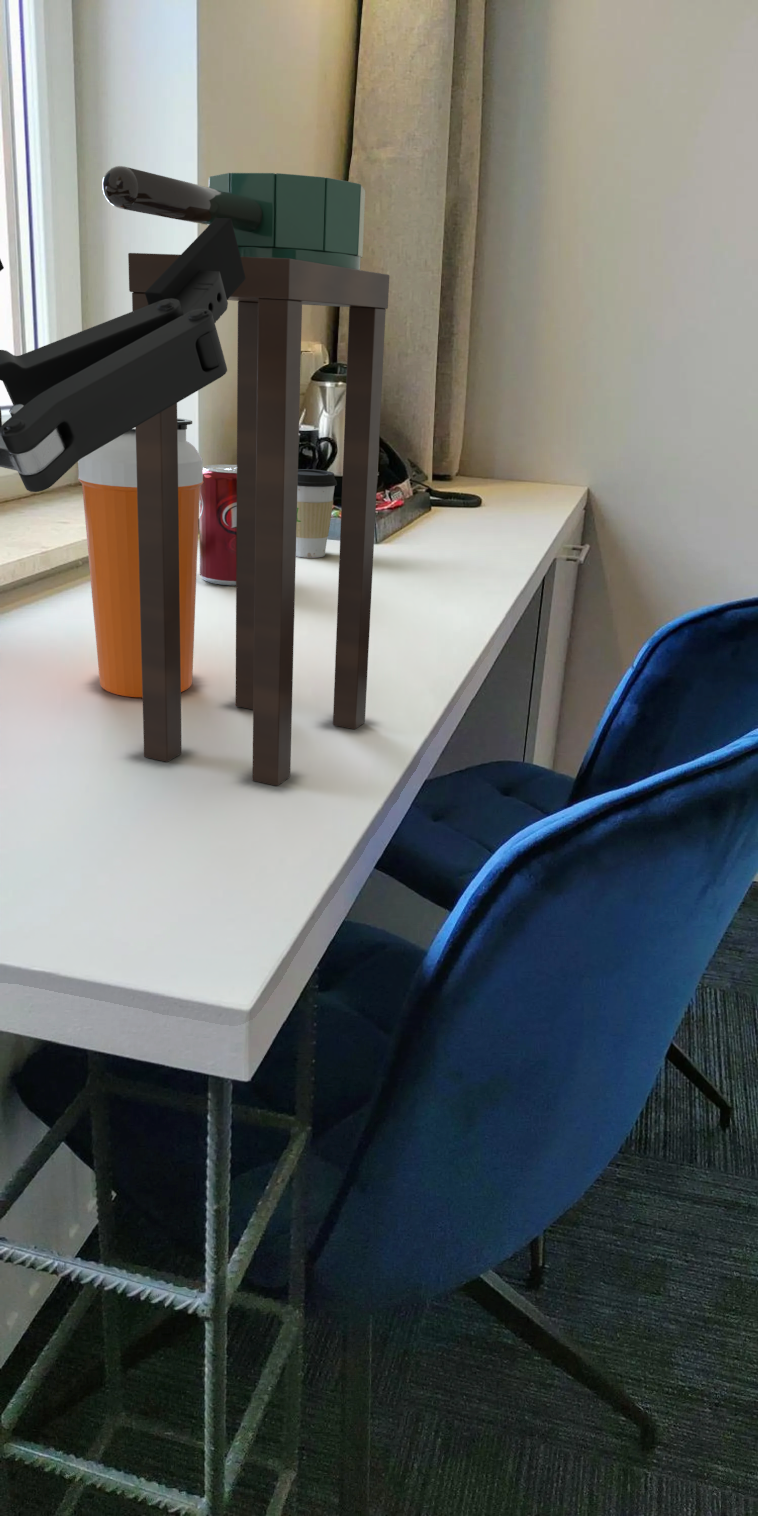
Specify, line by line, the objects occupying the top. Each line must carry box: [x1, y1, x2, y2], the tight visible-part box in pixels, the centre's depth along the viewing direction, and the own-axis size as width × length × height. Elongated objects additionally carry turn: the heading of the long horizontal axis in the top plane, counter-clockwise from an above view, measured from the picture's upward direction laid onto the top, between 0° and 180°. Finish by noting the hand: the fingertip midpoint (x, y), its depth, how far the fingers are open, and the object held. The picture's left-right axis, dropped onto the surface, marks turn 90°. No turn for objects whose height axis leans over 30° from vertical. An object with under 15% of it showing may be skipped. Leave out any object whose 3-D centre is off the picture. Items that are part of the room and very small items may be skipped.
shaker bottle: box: [77, 417, 204, 699], centre depth 83 cm, size 9×9×20 cm
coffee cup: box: [296, 468, 338, 559], centre depth 137 cm, size 7×7×10 cm
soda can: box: [198, 464, 237, 587], centre depth 121 cm, size 7×7×12 cm
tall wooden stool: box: [127, 252, 390, 787], centre depth 71 cm, size 14×10×30 cm
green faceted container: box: [102, 165, 366, 270], centre depth 61 cm, size 22×9×5 cm, turn 157°
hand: (104, 243), depth 52 cm, fingers open, 13 cm apart
